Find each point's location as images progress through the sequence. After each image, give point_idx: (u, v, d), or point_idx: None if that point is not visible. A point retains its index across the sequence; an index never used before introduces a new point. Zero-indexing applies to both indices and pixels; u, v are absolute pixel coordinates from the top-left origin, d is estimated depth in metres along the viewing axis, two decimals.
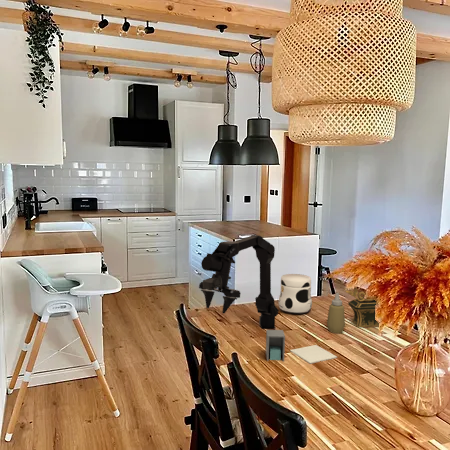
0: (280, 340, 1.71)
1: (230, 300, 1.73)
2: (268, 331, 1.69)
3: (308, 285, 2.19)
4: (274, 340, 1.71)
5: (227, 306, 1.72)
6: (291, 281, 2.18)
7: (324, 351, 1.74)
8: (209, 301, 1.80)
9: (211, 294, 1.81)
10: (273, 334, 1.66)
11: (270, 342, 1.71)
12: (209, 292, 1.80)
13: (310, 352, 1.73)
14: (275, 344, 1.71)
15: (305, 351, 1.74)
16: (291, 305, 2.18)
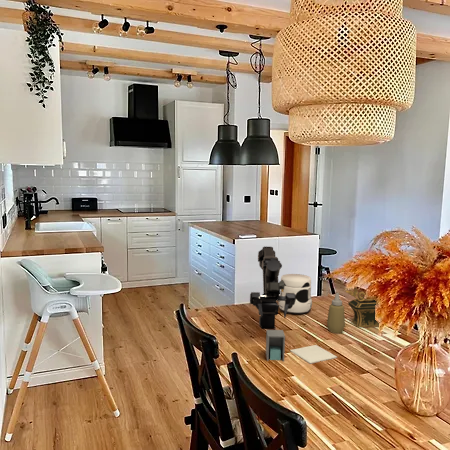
0: (280, 340, 1.71)
1: None
2: (268, 331, 1.69)
3: (308, 285, 2.19)
4: (274, 340, 1.71)
5: None
6: (291, 281, 2.18)
7: (324, 351, 1.74)
8: (261, 311, 1.77)
9: None
10: (273, 334, 1.66)
11: (270, 342, 1.71)
12: None
13: (310, 352, 1.73)
14: (275, 344, 1.71)
15: (305, 351, 1.74)
16: None
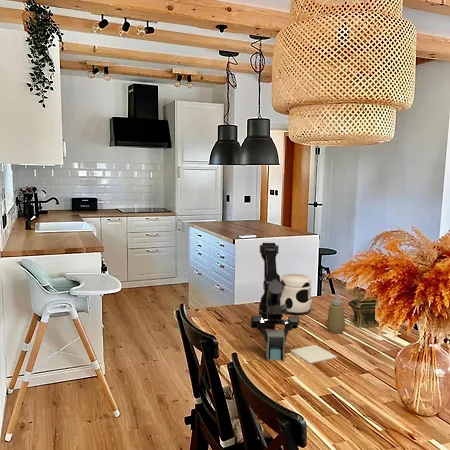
0: (280, 340, 1.71)
1: None
2: (268, 331, 1.69)
3: (308, 285, 2.19)
4: (274, 340, 1.71)
5: (286, 336, 1.69)
6: (291, 281, 2.18)
7: (324, 351, 1.74)
8: None
9: None
10: (273, 334, 1.66)
11: (270, 342, 1.71)
12: None
13: (310, 352, 1.73)
14: (275, 344, 1.71)
15: (305, 351, 1.74)
16: (291, 305, 2.18)
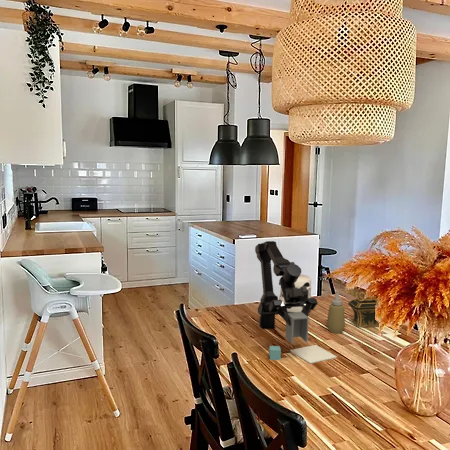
0: (299, 322, 1.71)
1: None
2: (289, 314, 1.68)
3: (308, 285, 2.19)
4: (294, 323, 1.71)
5: None
6: None
7: (324, 351, 1.74)
8: None
9: None
10: (296, 316, 1.66)
11: None
12: None
13: (310, 352, 1.73)
14: (295, 326, 1.71)
15: (305, 351, 1.74)
16: None
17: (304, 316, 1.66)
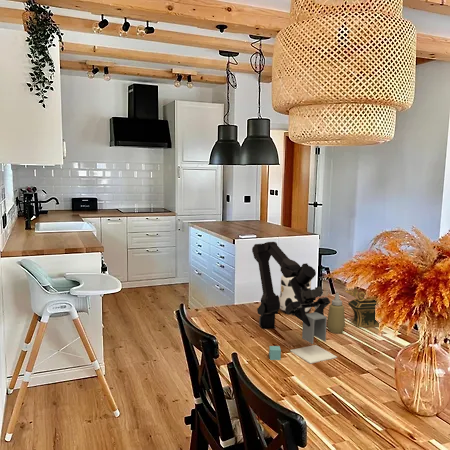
0: (314, 322, 1.74)
1: None
2: (307, 315, 1.70)
3: (308, 285, 2.19)
4: None
5: None
6: None
7: (324, 351, 1.74)
8: None
9: None
10: (315, 317, 1.68)
11: None
12: None
13: (310, 352, 1.73)
14: None
15: (305, 351, 1.74)
16: None
17: (322, 316, 1.69)
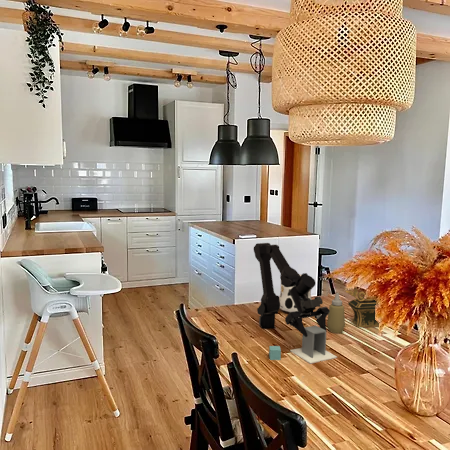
0: (314, 335, 1.75)
1: None
2: (306, 329, 1.71)
3: None
4: None
5: None
6: None
7: None
8: None
9: None
10: (315, 330, 1.69)
11: None
12: None
13: None
14: None
15: None
16: (291, 305, 2.18)
17: (321, 330, 1.70)
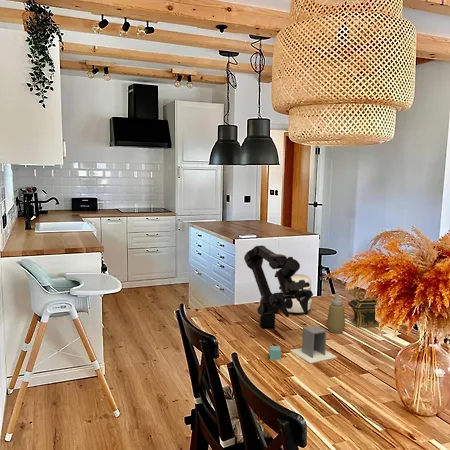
0: (314, 335, 1.75)
1: None
2: (306, 329, 1.71)
3: (308, 285, 2.19)
4: None
5: None
6: None
7: None
8: None
9: None
10: (315, 330, 1.69)
11: None
12: None
13: None
14: None
15: None
16: (291, 305, 2.18)
17: (321, 330, 1.70)
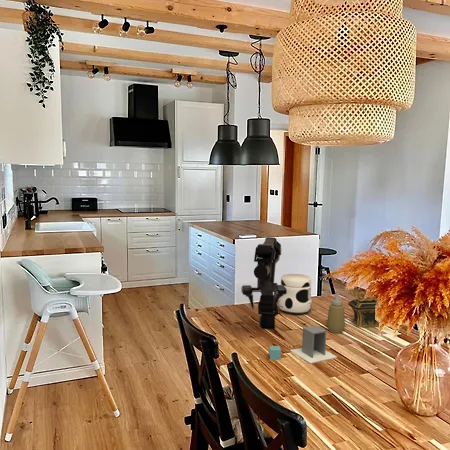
0: (314, 335, 1.75)
1: None
2: (306, 329, 1.71)
3: (308, 285, 2.19)
4: None
5: None
6: (291, 281, 2.18)
7: None
8: None
9: None
10: (315, 330, 1.69)
11: None
12: None
13: None
14: None
15: None
16: (291, 305, 2.18)
17: (321, 330, 1.70)
